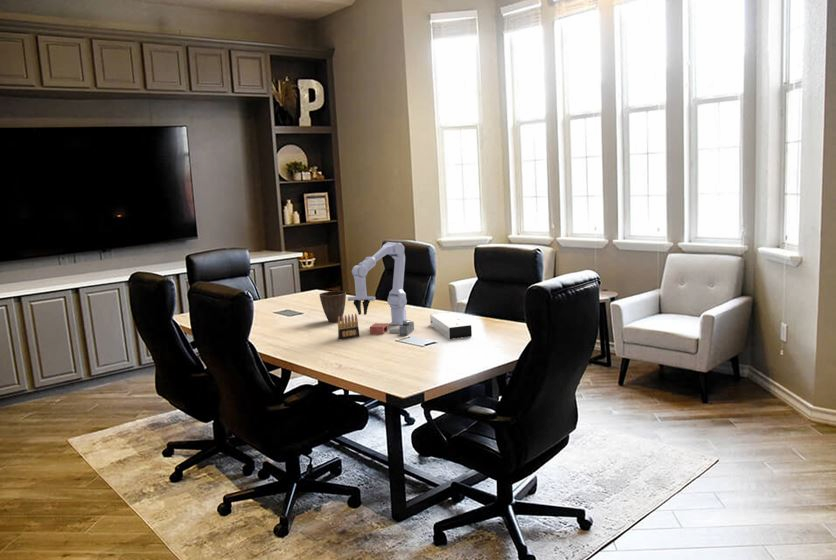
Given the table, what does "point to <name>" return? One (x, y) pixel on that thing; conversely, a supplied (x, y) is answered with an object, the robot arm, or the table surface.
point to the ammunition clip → (348, 328)
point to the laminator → (450, 325)
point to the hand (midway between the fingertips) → (362, 314)
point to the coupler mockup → (403, 328)
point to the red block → (378, 328)
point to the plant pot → (333, 304)
